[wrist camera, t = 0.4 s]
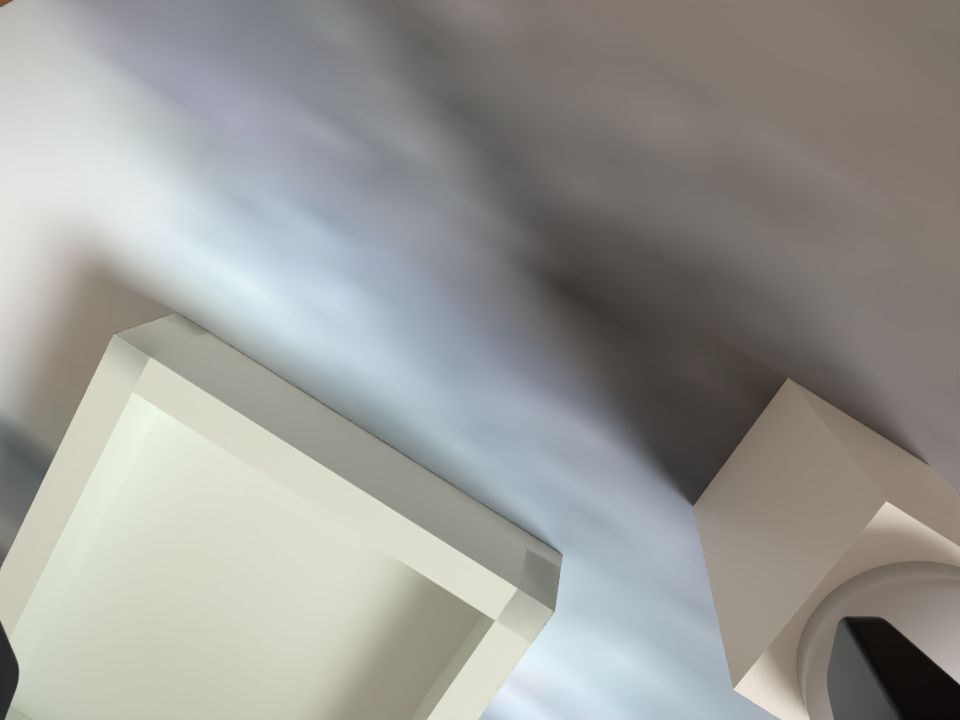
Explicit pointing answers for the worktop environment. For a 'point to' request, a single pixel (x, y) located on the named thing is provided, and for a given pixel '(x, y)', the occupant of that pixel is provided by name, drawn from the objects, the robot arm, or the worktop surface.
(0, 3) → the tin
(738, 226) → the worktop surface
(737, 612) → the cream block
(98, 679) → the tray
